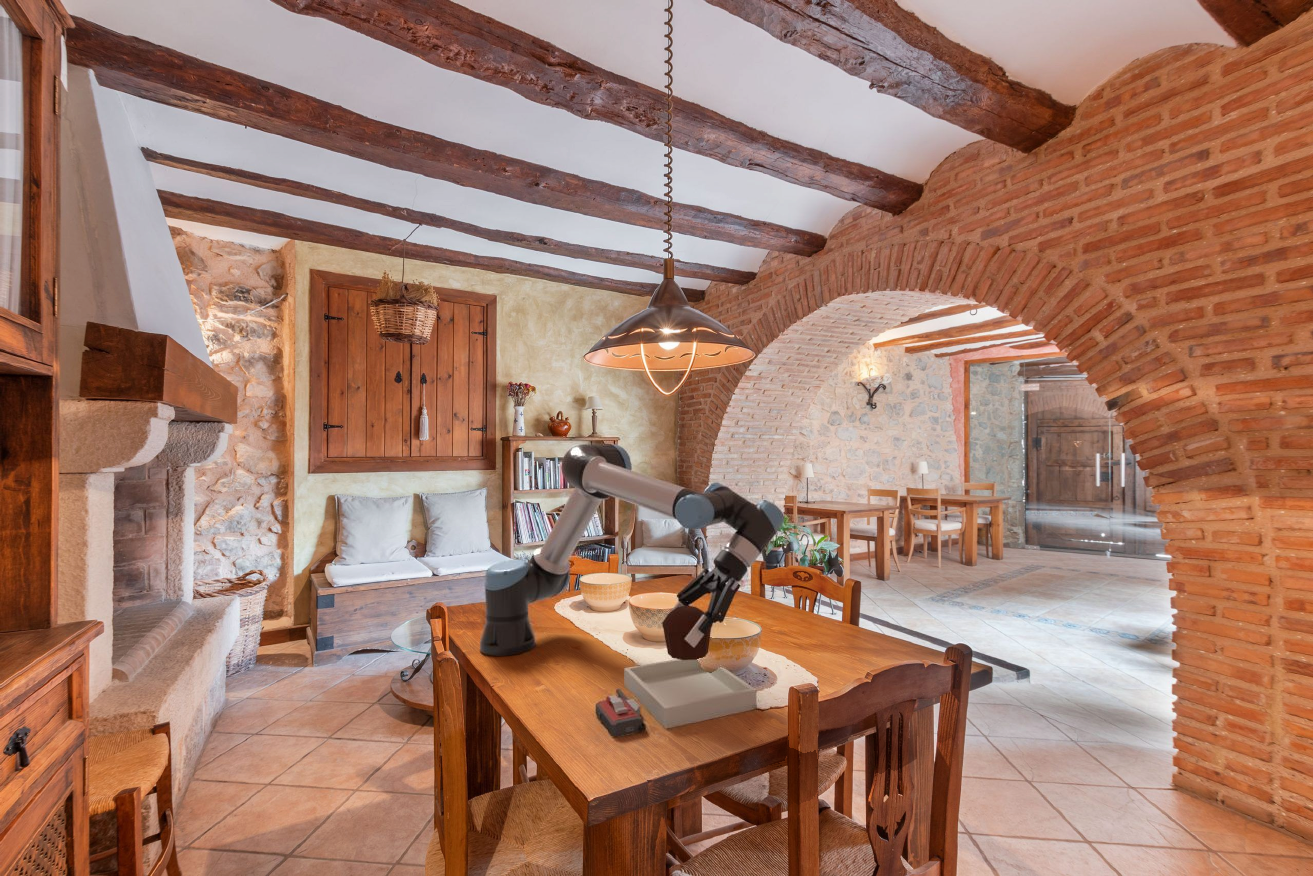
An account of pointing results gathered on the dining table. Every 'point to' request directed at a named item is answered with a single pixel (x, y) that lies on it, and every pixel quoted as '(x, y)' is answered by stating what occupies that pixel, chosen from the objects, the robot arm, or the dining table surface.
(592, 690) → the dining table surface
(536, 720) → the dining table surface
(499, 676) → the dining table surface
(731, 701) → the tray
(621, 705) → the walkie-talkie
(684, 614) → the muffin
